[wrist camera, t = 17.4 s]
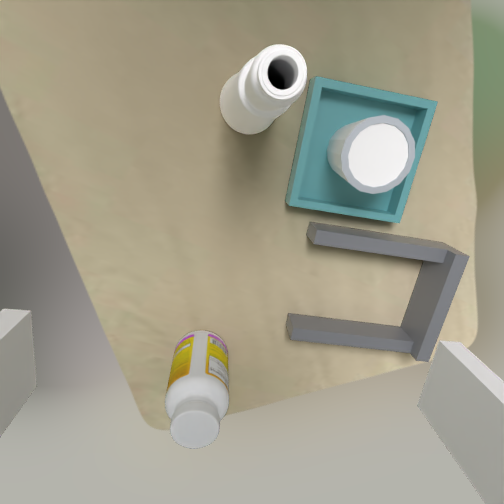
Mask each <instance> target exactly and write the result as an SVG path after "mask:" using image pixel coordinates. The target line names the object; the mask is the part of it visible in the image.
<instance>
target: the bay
mask: <svg viewBox="0 0 504 504" xmlns="http://www.w3.org/2000/svg"><path fill="white" fill-rule="evenodd" d="M307 236H308V237H309V239H310V240H311V241H312V243H313V244H317V245H324V246H330V247H337V248H344V249H351V250H357V251H364V252H371V253H378V254H385V255H391V256H398V257H405V258H412V259H418V260H424V261H423V264H422V267H421V270H420V273H419V275H418V278H417V281H416V284H415V287H414V290H413V293H412V296H411V298H410V301H409V304H408V307H407V310H406V313H405V316H404V319H403V321H402V324H401V327H398V326H390V325H381V324H373V323H365V322H357V321H348V320H340V319H332V318H323V317H315V316H307V315H299V314H290V313H288V317H287V321H286V327H287V330H288V333H289V336H290V340H298V341H307V342H315V343H324V344H333V345H342V346H351V347H360V348H369V349H378V350H387V351H396V352H405V353H410V354H411V355H412V356H413V357H414V359H415V360H416V361H425V362H429V359H430V356H431V354H432V351H433V349H434V346H435V344H436V341H437V338H438V336H439V333H440V331H441V328H442V326H443V323H444V320H445V318H446V315H447V313H448V310H449V308H450V305H451V303H452V300H453V297H454V295H455V292H456V290H457V287H458V285H459V282H460V279H461V277H462V274H463V272H464V269H465V267H466V264H467V261H468V259H469V256H468V255H466V254H464V253H462V252H460V251H458V250H456V249H454V248H453V247H451V246H449V245H447V244H445V243H443V242H437V241H431V240H424V239H418V238H412V237H405V236H399V235H392V234H386V233H380V232H373V231H367V230H360V229H354V228H347V227H341V226H335V225H328V224H322V223H315V222H309V226H308V230H307Z"/></svg>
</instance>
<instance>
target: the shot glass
mask: <svg viewBox="0 0 504 504" xmlns="http://www.w3.org/2000/svg"><path fill="white" fill-rule="evenodd" d="M327 158H328V162H329V164H330V166H331V168H332V170H334V171H335V172H336V173H337V174H339V175H340V176H341V177H342V178H344V179H345V180H346V181H347V182H349V183H350V184H351V185H352V186H354V187H355V188H356V189H358V190H359V191H362V192H366V193H370V194H376V193H382V192H387V191H389V190H390V189H392V188H394V187H395V186H397V185H399V184H400V183H401V182H402V180H403V179H404V178H405V177H406V176H407V174H408V173H409V172H410V169H411V167H412V164H413V161H414V158H415V141H414V139H413V136H412V134H411V132H410V129H409V128H408V127H407V126H406V125H405V124H404V123H402V122H401V121H400V120H399V119H397V118H393V117H390V116H386V115H381V116H376V117H370V118H366V119H363V120H360V121H357V122H354V123H351V124H348V125H345V126H343V127H342V128H340V129H339V130H337V131H336V132H335V133H334V135H333V136H332V138H331V139H330V141H329V144H328V148H327Z"/></svg>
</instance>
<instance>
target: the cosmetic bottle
mask: <svg viewBox="0 0 504 504" xmlns="http://www.w3.org/2000/svg"><path fill="white" fill-rule="evenodd" d="M306 81H307V66H306V63H305V60H304V58H303V56H302V55H301V54H300V52H299V51H297V50H296V49H295V48H293V47H291V46H287V45H283V44H275V45H271V46H268V47H266V48H265V49H263V50H262V51H261V52H260V53H259V54H258V55H257V56H255V57H253V58H252V59H251V60H249V61H248V62H247V63H246V64H245V65H244V66H243V68H242V69H241V70H240V71H239V72H238V73H236V74H234V75H233V76H232V77H230V78H229V79H228V80H227V82H226V83H225V85H224V86H223V89H222V91H221V95H220V109H221V113H222V116H223V118H224V120H225V121H226V123H227V124H228V125H229V126H230V127H231V128H232V129H234V130H235V131H237V132H240V133H243V134H256V133H260V132H262V131H264V130H265V129H267V128H268V127H269V126H270V125H271V124H272V123H273V121H274V119H276V118H277V117H279V116H280V115H282V114H283V113H284V112H285V111H286V110H287V109H288V108H289V107H290V106H291V104H292V103H294V102H295V101H296V100H297V99H298V98H299V97H300V96H301V94H302V92H303V90H304V88H305V85H306Z"/></svg>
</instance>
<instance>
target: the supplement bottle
mask: <svg viewBox="0 0 504 504" xmlns="http://www.w3.org/2000/svg"><path fill="white" fill-rule="evenodd" d="M228 406H229V385H228V353H227V348H226V345H225V343H224V341H223V340H222V339H221V338H220V337H219V336H218V335H216V334H215V333H213V332H210V331H204V330H199V331H193V332H190V333H188V334H186V335H185V336H183V337H182V338H181V339H180V341H179V342H178V344H177V346H176V348H175V352H174V357H173V362H172V367H171V372H170V377H169V382H168V387H167V392H166V397H165V409H166V412H167V414H168V416H169V418H170V419H171V424H170V433H171V436H172V438H173V440H174V441H175V442H176V443H177V444H179V445H181V446H183V447H186V448H190V449H198V448H202V447H205V446H208V445H210V444H211V443H212V442H213V441H214V440H215V439H216V438H217V436H218V434H219V429H220V421H221V420H222V419H223V417H224V416H225V414H226V412H227V410H228Z"/></svg>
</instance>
